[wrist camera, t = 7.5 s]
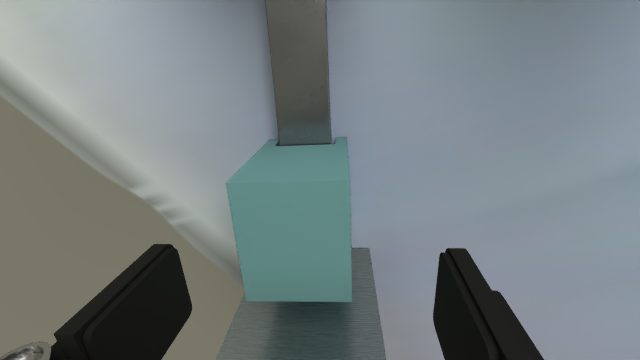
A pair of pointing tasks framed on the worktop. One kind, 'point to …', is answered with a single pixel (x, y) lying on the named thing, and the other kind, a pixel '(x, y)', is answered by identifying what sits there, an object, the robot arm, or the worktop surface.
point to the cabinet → (311, 325)
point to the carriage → (294, 223)
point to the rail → (300, 70)
